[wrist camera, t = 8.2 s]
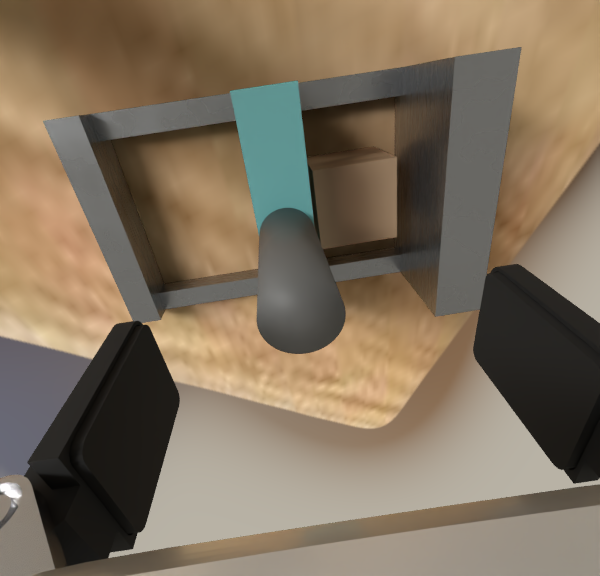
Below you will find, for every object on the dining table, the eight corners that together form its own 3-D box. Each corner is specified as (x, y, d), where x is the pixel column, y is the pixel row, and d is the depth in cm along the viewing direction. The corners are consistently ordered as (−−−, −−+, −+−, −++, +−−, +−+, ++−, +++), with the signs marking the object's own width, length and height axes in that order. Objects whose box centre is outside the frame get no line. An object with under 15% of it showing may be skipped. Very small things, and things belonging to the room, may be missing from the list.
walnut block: (373, 146, 25) (396, 157, 20) (375, 214, 27) (396, 236, 23) (303, 157, 25) (312, 170, 20) (312, 224, 27) (321, 249, 23)
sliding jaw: (288, 84, 21) (326, 69, 8) (314, 287, 28) (356, 444, 15) (238, 91, 21) (201, 87, 8) (277, 293, 27) (288, 455, 15)
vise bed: (441, 61, 22) (521, 46, 15) (429, 258, 29) (481, 309, 22) (69, 117, 22) (-22, 128, 15) (146, 303, 29) (108, 369, 22)
